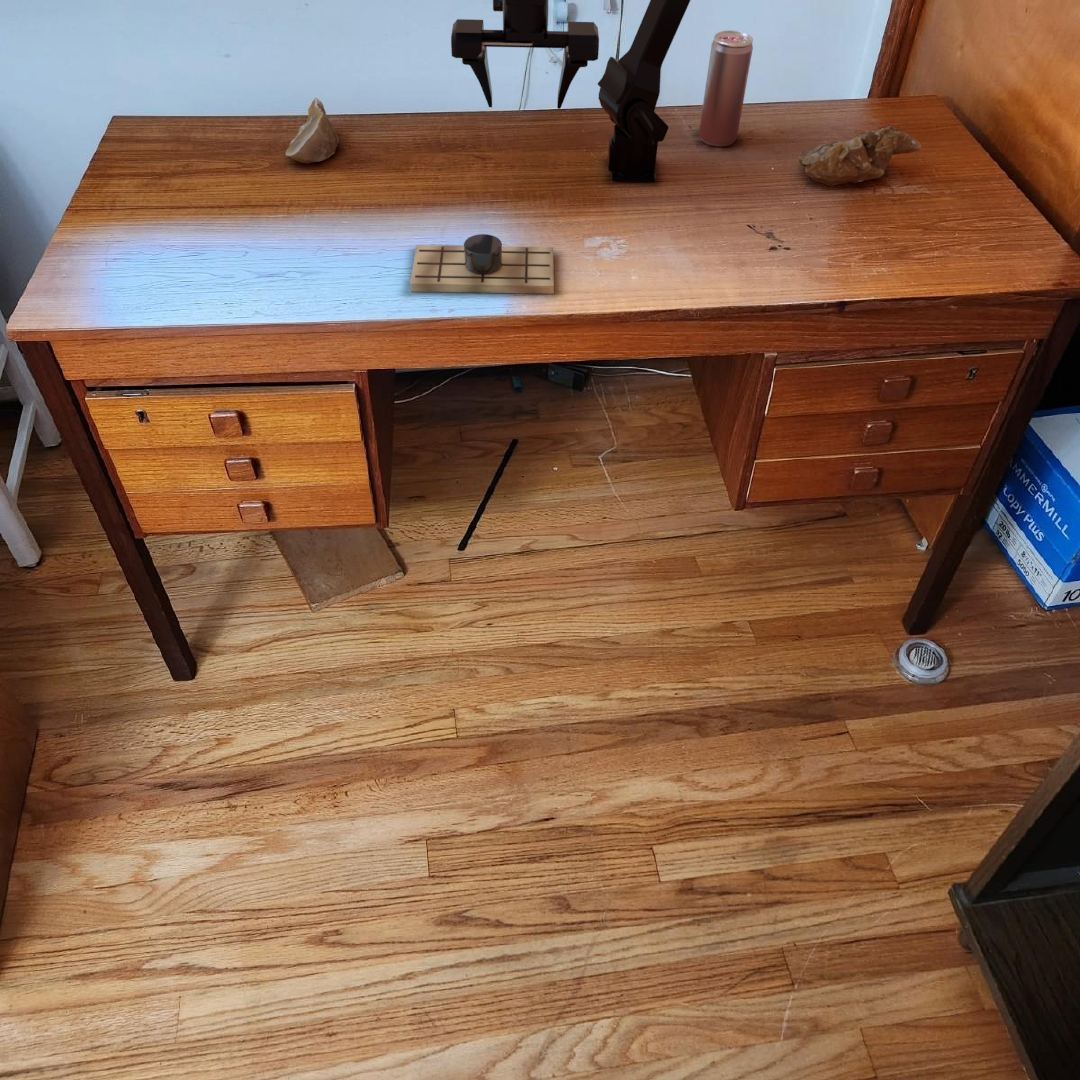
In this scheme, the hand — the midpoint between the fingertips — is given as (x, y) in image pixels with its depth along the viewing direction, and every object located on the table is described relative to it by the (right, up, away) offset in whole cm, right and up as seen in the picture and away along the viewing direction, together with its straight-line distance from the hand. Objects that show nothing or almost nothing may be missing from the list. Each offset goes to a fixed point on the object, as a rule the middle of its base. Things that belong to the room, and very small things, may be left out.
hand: (524, 106), depth 129 cm
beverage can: (+30, +4, +21) cm, 37 cm away
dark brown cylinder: (-5, -23, -6) cm, 24 cm away
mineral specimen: (+49, -4, +14) cm, 51 cm away
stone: (-32, +1, +17) cm, 36 cm away
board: (-5, -24, -5) cm, 25 cm away
